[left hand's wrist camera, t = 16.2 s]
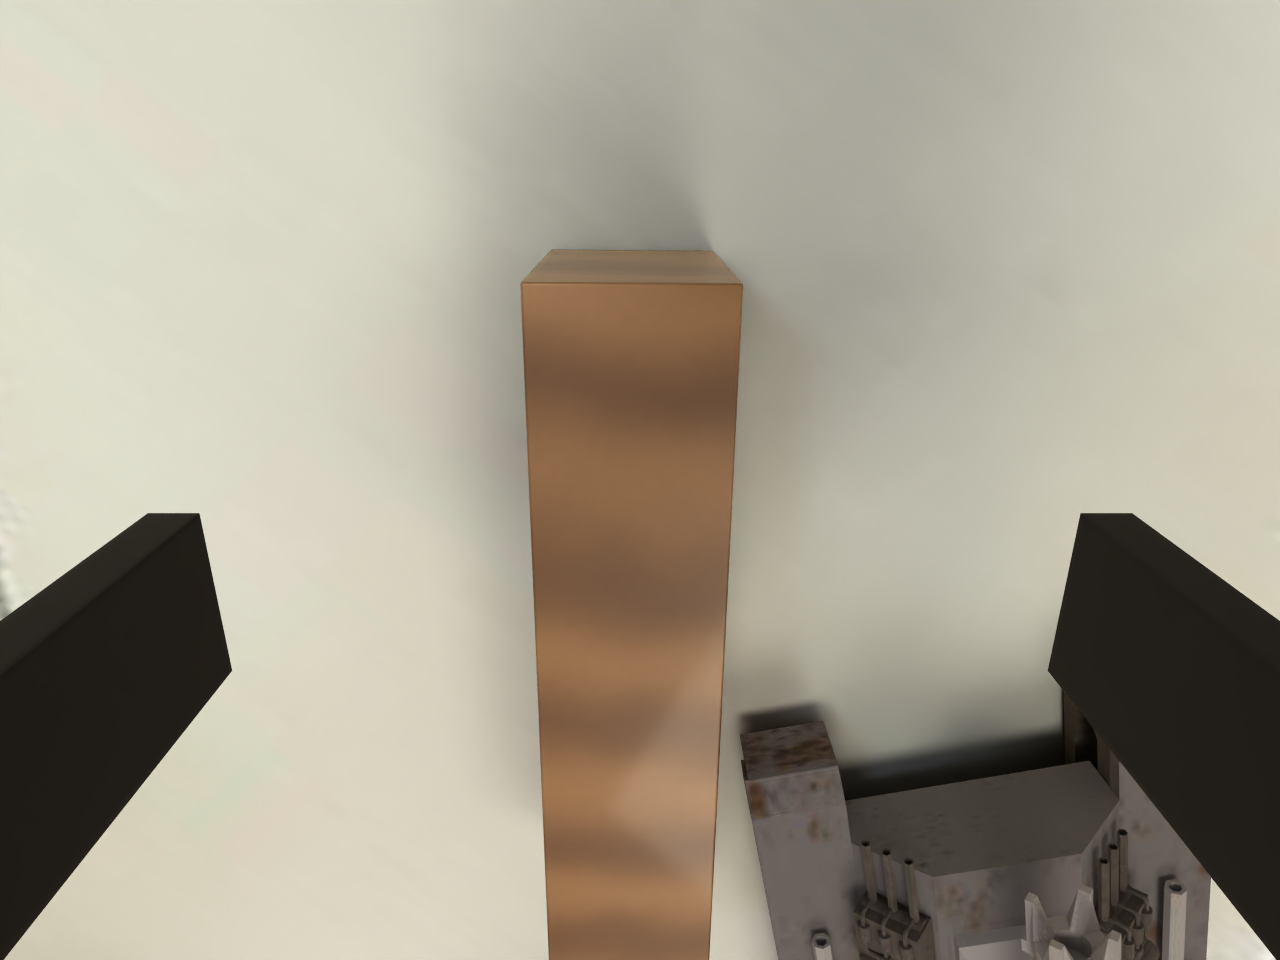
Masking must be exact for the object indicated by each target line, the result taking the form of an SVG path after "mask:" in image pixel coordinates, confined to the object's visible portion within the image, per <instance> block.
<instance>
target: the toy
mask: <svg viewBox="0 0 1280 960" xmlns="http://www.w3.org/2000/svg"><path fill="white" fill-rule="evenodd" d="M740 738H741V743H742V749H743V754H744V760H741V764H742V770H743V777H744V783H745V788H746V793H747V798H748V803H749V808H750V813H751V818H752V824H753V829H754V834H755V839H756V844H757V850H758V855H759V860H760V865H761V871H762V876H763V881H764V886H765V891H766V897H767V902H768V907H769V912H770V918H771V923H772V928H773V933H774V938H775V944H776V949H777V954H778V959H779V960H1206V952H1207V935H1208V917H1209V900H1210V883H1211V876H1210V875H1209V874H1208V873H1207V871H1206V870H1205V869H1204V867H1203V866H1202V865H1201V864H1200V862H1199V861H1198V860H1197V859H1196V857H1195V856H1194V855H1193V854H1192V852H1191V851H1190V850H1189V848H1188V847H1187V846H1186V845H1185V843H1184V842H1183V841H1182V840H1181V838H1180V837H1179V836H1178V835H1177V833H1176V832H1175V831H1174V829H1173V828H1172V827H1171V826H1170V824H1169V823H1168V822H1167V821H1166V819H1165V818H1164V817H1163V816H1162V814H1161V813H1160V812H1159V810H1158V809H1157V808H1156V807H1155V805H1154V804H1153V803H1152V802H1151V800H1150V799H1149V798H1148V797H1147V795H1146V794H1145V793H1144V792H1143V790H1142V789H1141V788H1140V786H1139V785H1138V784H1137V783H1136V781H1135V780H1134V779H1133V778H1132V776H1131V775H1130V774H1129V773H1128V771H1127V770H1126V769H1125V767H1124V766H1123V765H1122V764H1121V762H1120V761H1119V760H1118V759H1117V757H1116V756H1115V755H1114V754H1113V752H1112V751H1111V750H1110V748H1109V747H1108V746H1107V745H1106V743H1105V742H1104V741H1103V740H1102V738H1101V737H1100V736H1099V735H1098V733H1097V732H1096V731H1095V730H1094V728H1093V727H1092V726H1091V724H1090V723H1089V722H1088V721H1087V719H1086V718H1085V717H1084V716H1083V714H1082V713H1081V712H1080V711H1079V709H1078V708H1077V707H1076V705H1075V704H1074V703H1073V702H1072V700H1071V699H1070V698H1069V697H1068V695H1067V694H1066V693H1064V741H1065V765H1060V766H1054V767H1048V768H1042V769H1036V770H1030V771H1024V772H1018V773H1011V774H1005V775H999V776H993V777H987V778H981V779H975V780H969V781H963V782H957V783H950V784H944V785H938V786H932V787H926V788H920V789H914V790H908V791H902V792H896V793H889V794H883V795H877V796H871V797H865V798H859V799H853V800H847V801H845V798H844V793H843V788H842V783H841V778H840V773H839V768H838V764H837V761H836V758H835V755H834V752H833V749H832V746H831V743H830V741H829V738H828V735H827V732H826V729H825V726H824V723H823V721H819V722H813V723H807V724H801V725H795V726H789V727H783V728H777V729H771V730H765V731H759V732H753V733H747V734H741V735H740Z"/></svg>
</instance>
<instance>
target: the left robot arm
mask: <svg viewBox="0 0 1280 960" xmlns="http://www.w3.org/2000/svg"><path fill="white" fill-rule="evenodd" d="M231 671H232V668H231V663H230V658H229V654H228V649H227V644H226V639H225V634H224V630H223V625H222V620H221V615H220V610H219V606H218V601H217V596H216V591H215V586H214V581H213V577H212V572H211V567H210V562H209V557H208V553H207V548H206V543H205V538H204V533H203V529H202V524H201V519H200V514H199V513H148V514H146V515H145V516H144V517H142V518H141V519H139V520H138V521H137V522H135V523H134V524H133V525H131V526H130V527H129V528H127V529H126V530H124V531H123V532H122V533H120V534H119V535H118V536H116V537H115V538H113V539H112V540H111V541H109V542H108V543H107V544H105V545H104V546H102V547H101V548H100V549H98V550H97V551H96V552H94V553H93V554H92V555H90V556H89V557H87V558H86V559H85V560H83V561H82V562H81V563H79V564H78V565H76V566H75V567H74V568H72V569H71V570H70V571H68V572H67V573H65V574H64V575H63V576H61V577H60V578H59V579H57V580H56V581H55V582H53V583H52V584H50V585H49V586H48V587H46V588H45V589H44V590H42V591H41V592H39V593H38V594H37V595H35V596H34V597H33V598H31V599H30V600H28V601H27V602H26V603H24V604H23V605H22V606H20V607H19V608H18V609H16V610H15V611H13V612H12V613H11V614H9V615H8V616H7V617H5V618H4V619H2V620H1V621H0V960H4V959H5V957H6V956H7V955H8V953H9V952H10V951H11V950H12V948H13V947H14V946H15V945H16V943H17V942H18V941H19V940H20V938H21V937H22V936H23V935H24V933H25V932H26V931H27V929H28V928H29V927H30V926H31V924H32V923H33V922H34V921H35V919H36V918H37V917H38V916H39V914H40V913H41V912H42V910H43V909H44V908H45V907H46V905H47V904H48V903H49V902H50V900H51V899H52V898H53V897H54V895H55V894H56V893H57V891H58V890H59V889H60V888H61V886H62V885H63V884H64V883H65V881H66V880H67V879H68V878H69V876H70V875H71V874H72V873H73V871H74V870H75V869H76V867H77V866H78V865H79V864H80V862H81V861H82V860H83V859H84V857H85V856H86V855H87V854H88V852H89V851H90V850H91V848H92V847H93V846H94V845H95V843H96V842H97V841H98V840H99V838H100V837H101V836H102V835H103V833H104V832H105V831H106V829H107V828H108V827H109V826H110V824H111V823H112V822H113V821H114V819H115V818H116V817H117V816H118V814H119V813H120V812H121V810H122V809H123V808H124V807H125V805H126V804H127V803H128V802H129V800H130V799H131V798H132V797H133V795H134V794H135V793H136V792H137V790H138V789H139V788H140V786H141V785H142V784H143V783H144V781H145V780H146V779H147V778H148V776H149V775H150V774H151V773H152V771H153V770H154V769H155V767H156V766H157V765H158V764H159V762H160V761H161V760H162V759H163V757H164V756H165V755H166V754H167V752H168V751H169V750H170V748H171V747H172V746H173V745H174V743H175V742H176V741H177V740H178V738H179V737H180V736H181V735H182V733H183V732H184V731H185V730H186V728H187V727H188V726H189V724H190V723H191V722H192V721H193V719H194V718H195V717H196V716H197V714H198V713H199V712H200V711H201V709H202V708H203V707H204V705H205V704H206V703H207V702H208V700H209V699H210V698H211V697H212V695H213V694H214V693H215V692H216V690H217V689H218V688H219V686H220V685H221V684H222V683H223V681H224V680H225V679H226V678H227V676H228V675H229V674H230V673H231ZM1048 671H1049V673H1050V674H1051V675H1052V676H1053V678H1054V679H1055V680H1056V681H1057V683H1058V684H1059V685H1060V686H1061V688H1062V689H1063V690H1064V692H1065V693H1066V694H1067V695H1068V697H1069V698H1070V699H1071V700H1072V702H1073V703H1074V704H1075V705H1076V707H1077V708H1078V709H1079V711H1080V712H1081V713H1082V714H1083V716H1084V717H1085V718H1086V719H1087V721H1088V722H1089V723H1090V724H1091V726H1092V727H1093V728H1094V730H1095V731H1096V732H1097V733H1098V735H1099V736H1100V737H1101V738H1102V740H1103V741H1104V742H1105V743H1106V745H1107V746H1108V747H1109V748H1110V750H1111V751H1112V752H1113V754H1114V755H1115V756H1116V757H1117V759H1118V760H1119V761H1120V762H1121V764H1122V765H1123V766H1124V767H1125V769H1126V770H1127V771H1128V773H1129V774H1130V775H1131V776H1132V778H1133V779H1134V780H1135V781H1136V783H1137V784H1138V785H1139V786H1140V788H1141V789H1142V790H1143V792H1144V793H1145V794H1146V795H1147V797H1148V798H1149V799H1150V800H1151V802H1152V803H1153V804H1154V805H1155V807H1156V808H1157V809H1158V810H1159V812H1160V813H1161V814H1162V816H1163V817H1164V818H1165V819H1166V821H1167V822H1168V823H1169V824H1170V826H1171V827H1172V828H1173V829H1174V831H1175V832H1176V833H1177V835H1178V836H1179V837H1180V838H1181V840H1182V841H1183V842H1184V843H1185V845H1186V846H1187V847H1188V848H1189V850H1190V851H1191V852H1192V854H1193V855H1194V856H1195V857H1196V859H1197V860H1198V861H1199V862H1200V864H1201V865H1202V866H1203V867H1204V869H1205V870H1206V871H1207V873H1208V874H1209V875H1210V876H1211V878H1212V879H1213V880H1214V881H1215V883H1216V884H1217V885H1218V886H1219V888H1220V889H1221V890H1222V891H1223V893H1224V894H1225V895H1226V897H1227V898H1228V899H1229V900H1230V902H1231V903H1232V904H1233V905H1234V907H1235V908H1236V909H1237V910H1238V912H1239V913H1240V914H1241V916H1242V917H1243V918H1244V919H1245V921H1246V922H1247V923H1248V924H1249V926H1250V927H1251V928H1252V929H1253V931H1254V932H1255V933H1256V935H1257V936H1258V937H1259V938H1260V940H1261V941H1262V942H1263V943H1264V945H1265V946H1266V947H1267V948H1268V950H1269V951H1270V952H1271V953H1272V955H1273V956H1274V957H1275V959H1276V960H1280V621H1279V620H1278V619H1276V618H1275V617H1273V616H1272V615H1271V614H1269V613H1268V612H1267V611H1265V610H1264V609H1262V608H1261V607H1260V606H1258V605H1257V604H1256V603H1254V602H1253V601H1252V600H1250V599H1249V598H1247V597H1246V596H1245V595H1243V594H1242V593H1241V592H1239V591H1238V590H1236V589H1235V588H1234V587H1232V586H1231V585H1230V584H1228V583H1227V582H1225V581H1224V580H1223V579H1221V578H1220V577H1219V576H1217V575H1216V574H1215V573H1213V572H1212V571H1210V570H1209V569H1208V568H1206V567H1205V566H1204V565H1202V564H1201V563H1199V562H1198V561H1197V560H1195V559H1194V558H1193V557H1191V556H1190V555H1188V554H1187V553H1186V552H1184V551H1183V550H1182V549H1180V548H1179V547H1178V546H1176V545H1175V544H1173V543H1172V542H1171V541H1169V540H1168V539H1167V538H1165V537H1164V536H1162V535H1161V534H1160V533H1158V532H1157V531H1156V530H1154V529H1153V528H1151V527H1150V526H1149V525H1147V524H1146V523H1145V522H1143V521H1142V520H1141V519H1139V518H1138V517H1136V516H1135V515H1134V514H1132V513H1081V514H1080V519H1079V524H1078V529H1077V533H1076V538H1075V543H1074V548H1073V553H1072V557H1071V562H1070V567H1069V572H1068V577H1067V581H1066V586H1065V591H1064V596H1063V601H1062V606H1061V610H1060V615H1059V620H1058V625H1057V630H1056V634H1055V639H1054V644H1053V649H1052V654H1051V658H1050V663H1049V668H1048Z"/></svg>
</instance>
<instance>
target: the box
mask: <svg viewBox="0 0 1280 960" xmlns="http://www.w3.org/2000/svg"><path fill="white" fill-rule="evenodd" d="M742 296H743V285H742V283H741V282H740V281H739V280H738V279H737V277H736V276H735V275H734V274H733V273H732V272H731V271H730V270H729V269H728V268H727V266H726V265H725V264H724V263H723V262H722V261H721V260H720V259H719V258H718V257H717V255H716V254H715V253H714V252H713V251H660V250H551V251H550V252H549V253H548V254H547V255H546V256H545V257H544V258H543V260H542V261H541V262H540V263H539V264H538V265H537V266H536V267H535V268H534V269H533V270H532V271H531V272H530V274H529V275H528V276H527V277H526V278H525V279H524V280H523V281H522V282H521V308H522V332H523V356H524V379H525V403H526V427H527V450H528V474H529V498H530V521H531V545H532V569H533V593H534V616H535V640H536V664H537V687H538V711H539V735H540V758H541V782H542V806H543V829H544V853H545V877H546V901H547V924H548V948H549V960H709V952H710V932H711V912H712V892H713V872H714V852H715V832H716V812H717V793H718V773H719V753H720V733H721V713H722V693H723V673H724V654H725V634H726V614H727V594H728V574H729V554H730V534H731V514H732V495H733V475H734V455H735V435H736V415H737V395H738V375H739V355H740V336H741V316H742Z"/></svg>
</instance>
